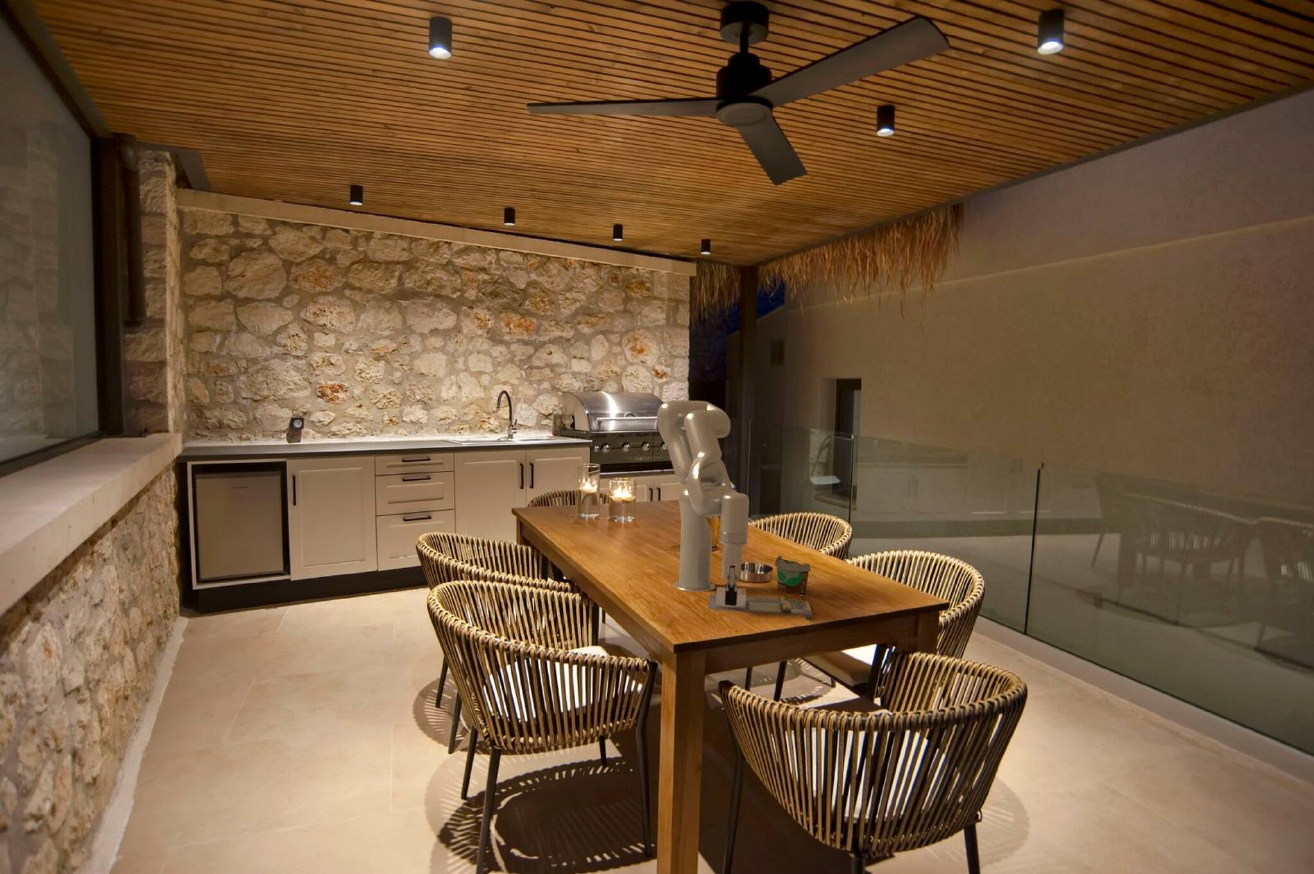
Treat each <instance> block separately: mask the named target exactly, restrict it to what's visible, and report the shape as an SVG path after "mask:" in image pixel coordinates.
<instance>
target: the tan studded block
mask: <svg viewBox="0 0 1314 874" xmlns="http://www.w3.org/2000/svg"><path fill="white" fill-rule="evenodd" d="M726 589H727V588H726V586H723V587H722V586H720V587H719V586H717V587H716V594H715V595H716V607H720V608H734V609H745V602H746V597H747V593H746V588H744V587H741V588H739V587H737V589H736V591H737V605H736V606H732V605H725V590H726ZM728 589H729V588H728ZM734 591H735V590H734Z"/></svg>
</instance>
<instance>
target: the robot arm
mask: <svg viewBox="0 0 1314 874" xmlns="http://www.w3.org/2000/svg"><path fill="white" fill-rule="evenodd" d="M656 415H657V416H656V422H657V423H656V424H657V428H658V431H659V435H660V436H661V439H662V440H663V442H664V444H665V445H666V448H667V451H668V453H669V457H670V460H671V464H672V468H673V471H674V474H675V476H676V477H675V478H676V479H677V481H678V483H680V485H683V486H686V487H685V488H683V489H682V490H681V491H680V493H679V497H678V506H679V507H678V508H679V513H680V546H679V547H680V549H679V550H680V551H679V552H680V553H679V572H678V573H679V575H678V580H676V581H675V582H673V587H675V588H676V589H678V590H682V591H686V592H695V593H702V592H709V591H712V590H714V589H715V588H716V585H715V584H714V583H713V582H711V577H712V576H711V571H712V551H713V549H712V547H713V545H712V544H713V530H712V527H711V525H710V523H708V520H707V518H710V517H720V530H719V531H720V534H719V544H722V545H723V548H722V556H721V557H722V560H721V561H722V562H721V566H722V568H721V580H722V581H725V580H726V583H725V588H727V589H726V590H725V605H732V606H736V605H737V591H736V589H737V588H738V582H739V580H740V577H741V572H742V571H741V570H742V561H743V560H742V559H743V546H746V545H748V531H749V529H748V528H749V513H750V512H749V511H750V498H749V497H748V495H747V494H745V493H740V492H737V490H735V489H733V485H732V483H731V480H730V476H729V474H728V472H727V467H726V465H725V463H724V461H723V460H722V459H721V458H722V455H723V453H722V450H721V447H720V443H719V440H718V438H719V439H721V438H725V437H727V436H728V435H729V434H730V431H731V427H732V426H731V420H730V418H729V416H728V414H727V413H726V411H724V410H723V409H721V408H720V407H717V406H715V405H714V404H712V403H710V402H708V401H705V400H682V399H679V400H668V401H665V402H663V403H662V404H660V405H659V407H658V410H657V414H656ZM682 428H684V430H683V429H682ZM728 588H729V589H728ZM734 590H735V591H734Z"/></svg>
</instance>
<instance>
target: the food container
mask: <svg viewBox="0 0 1314 874" xmlns="http://www.w3.org/2000/svg"><path fill="white" fill-rule="evenodd" d="M774 566H775V567H776V580H777V585H776V586H777V587H776V588H777V589H778V590H780V591H782V592H784V593H789V594H797V596H798V597H800V596H799V595H805V596H807V595H806V594H807V585H808V578H809V572H810V571H811V566H810V563H805V564H804V563H802V564H801V563H799V562H797V561H794V560H788V559H784V558H783V557H782V555H779V556H777V557H776V559H775V561H774Z"/></svg>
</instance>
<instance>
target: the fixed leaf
mask: <svg viewBox="0 0 1314 874" xmlns="http://www.w3.org/2000/svg"><path fill="white" fill-rule="evenodd" d="M780 599H781V600H780V601H781V605H782V610H783V612H784V613H790V612H791V614H804V615H811V613H812V609H811V607H810V606H811V605H810V603H809V602H808V601H807V602H803V601H804V600H802V601H789V600H790V598H789V597H788V596H786V595H782V596H781V597H780Z"/></svg>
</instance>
